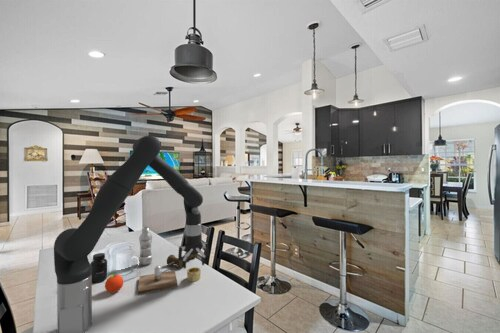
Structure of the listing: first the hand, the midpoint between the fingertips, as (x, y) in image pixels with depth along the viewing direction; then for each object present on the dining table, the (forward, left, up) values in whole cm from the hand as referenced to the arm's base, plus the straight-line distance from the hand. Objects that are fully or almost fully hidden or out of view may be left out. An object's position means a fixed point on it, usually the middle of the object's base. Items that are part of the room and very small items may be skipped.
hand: (194, 266), depth 111 cm
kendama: (+19, +4, -6) cm, 20 cm away
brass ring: (0, 0, -6) cm, 6 cm away
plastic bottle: (+26, +22, -6) cm, 34 cm away
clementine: (+2, +34, -6) cm, 35 cm away
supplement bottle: (+16, +42, -6) cm, 45 cm away
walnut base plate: (+2, +16, -6) cm, 17 cm away
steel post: (+2, +16, -4) cm, 17 cm away
